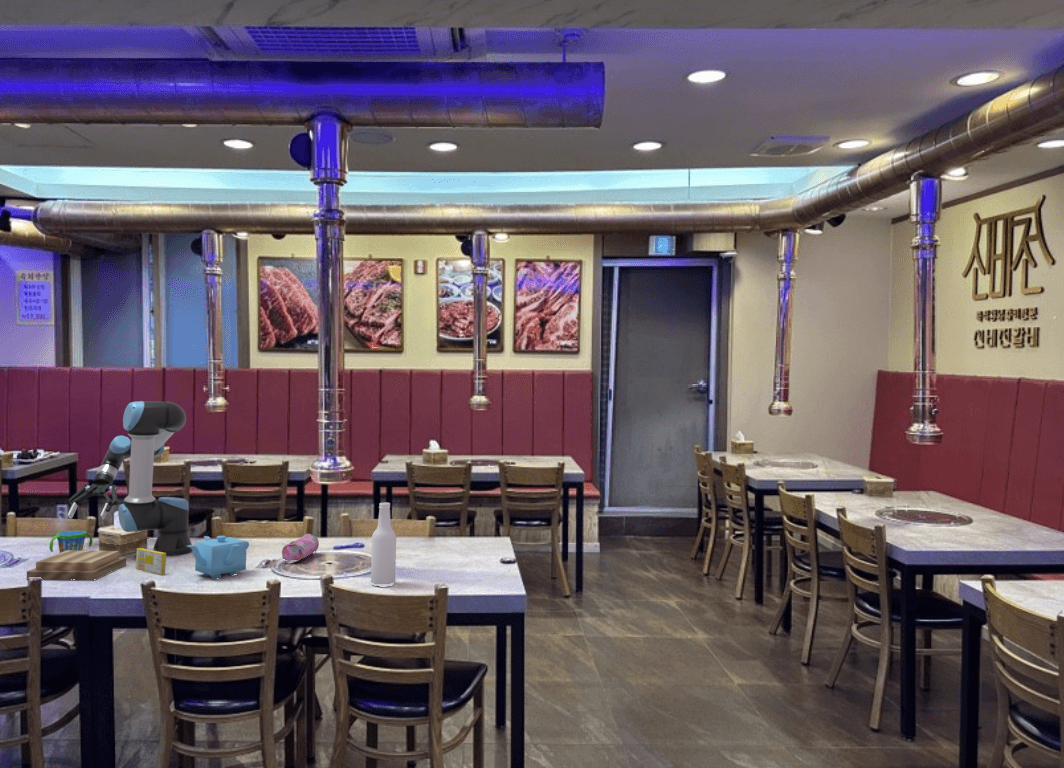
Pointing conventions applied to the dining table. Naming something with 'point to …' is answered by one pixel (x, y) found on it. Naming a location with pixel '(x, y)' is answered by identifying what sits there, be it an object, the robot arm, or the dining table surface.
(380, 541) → the alcohol
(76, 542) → the snack cup
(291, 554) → the pencil case
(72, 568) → the walnut stand
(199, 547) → the teakettle
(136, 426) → the robot arm
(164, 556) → the candy box
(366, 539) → the dining table surface
